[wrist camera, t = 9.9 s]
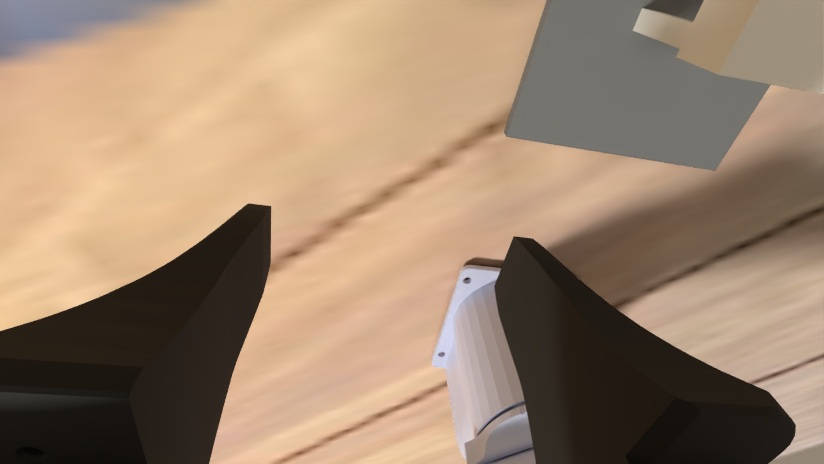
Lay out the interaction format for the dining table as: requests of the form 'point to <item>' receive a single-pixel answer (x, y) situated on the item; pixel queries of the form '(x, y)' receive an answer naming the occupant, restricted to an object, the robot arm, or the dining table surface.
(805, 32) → the cream block with pegs
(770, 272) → the dining table surface
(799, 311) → the dining table surface
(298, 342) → the dining table surface
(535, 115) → the mat
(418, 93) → the dining table surface
